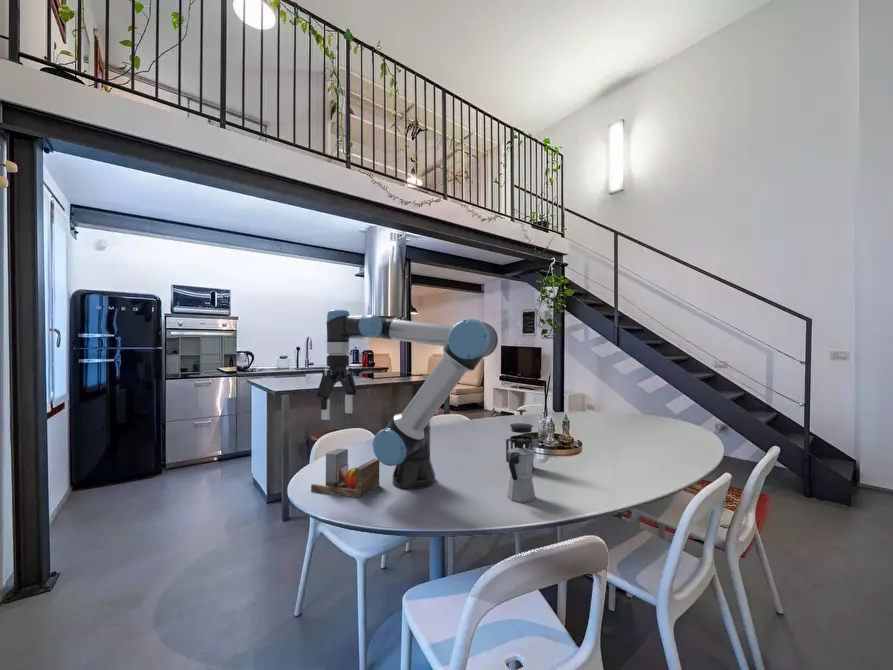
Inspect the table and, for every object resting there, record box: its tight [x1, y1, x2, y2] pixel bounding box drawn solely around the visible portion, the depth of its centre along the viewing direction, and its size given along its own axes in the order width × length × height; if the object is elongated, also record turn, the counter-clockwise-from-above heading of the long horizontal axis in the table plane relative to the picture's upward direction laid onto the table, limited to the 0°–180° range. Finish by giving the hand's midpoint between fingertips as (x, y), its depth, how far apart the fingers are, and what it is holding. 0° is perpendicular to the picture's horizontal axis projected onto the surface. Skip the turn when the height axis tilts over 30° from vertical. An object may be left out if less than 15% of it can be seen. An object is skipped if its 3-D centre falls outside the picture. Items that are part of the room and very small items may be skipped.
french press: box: [505, 408, 535, 472], centre depth 151 cm, size 12×9×23 cm
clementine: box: [345, 467, 357, 489], centre depth 129 cm, size 8×7×7 cm
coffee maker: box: [506, 439, 536, 504], centre depth 120 cm, size 15×9×18 cm, turn 149°
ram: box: [325, 447, 349, 488], centre depth 131 cm, size 5×7×12 cm, turn 161°
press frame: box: [310, 458, 380, 498], centre depth 130 cm, size 19×12×9 cm, turn 71°
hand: (337, 416), depth 132 cm, fingers open, 13 cm apart
